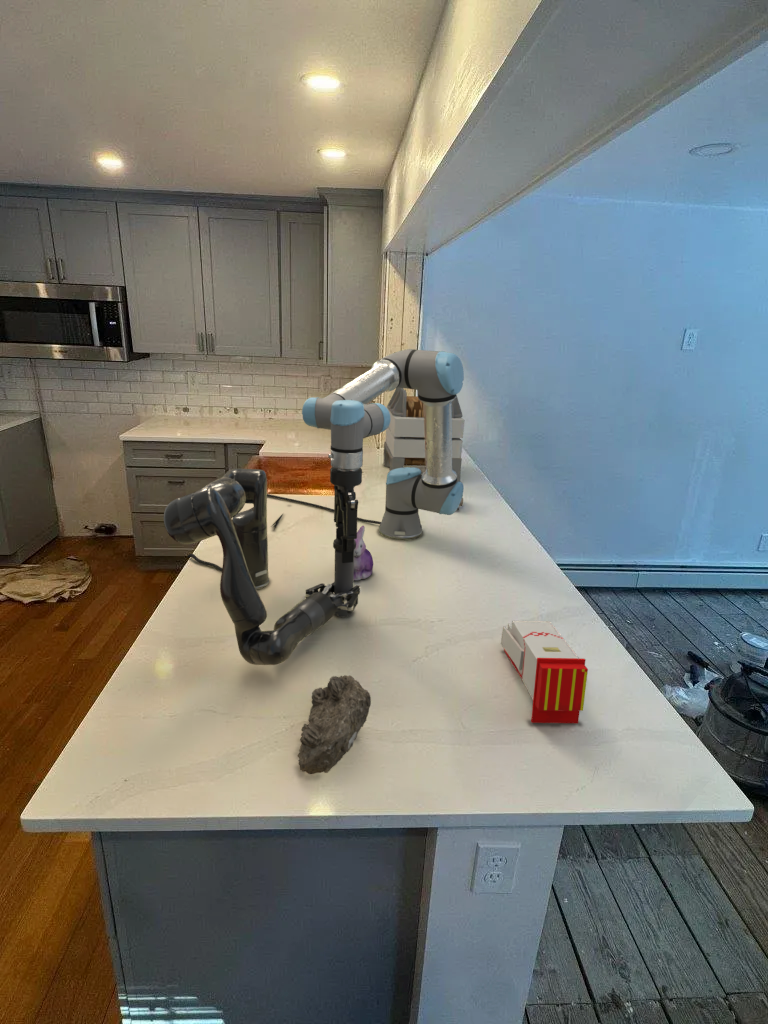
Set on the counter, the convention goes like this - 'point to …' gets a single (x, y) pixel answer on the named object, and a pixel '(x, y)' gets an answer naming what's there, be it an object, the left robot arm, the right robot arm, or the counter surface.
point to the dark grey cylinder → (343, 578)
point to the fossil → (333, 723)
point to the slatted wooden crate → (416, 433)
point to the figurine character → (461, 503)
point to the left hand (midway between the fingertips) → (348, 586)
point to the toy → (547, 670)
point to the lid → (340, 544)
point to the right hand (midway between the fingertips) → (344, 556)
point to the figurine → (362, 558)
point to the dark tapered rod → (277, 521)
